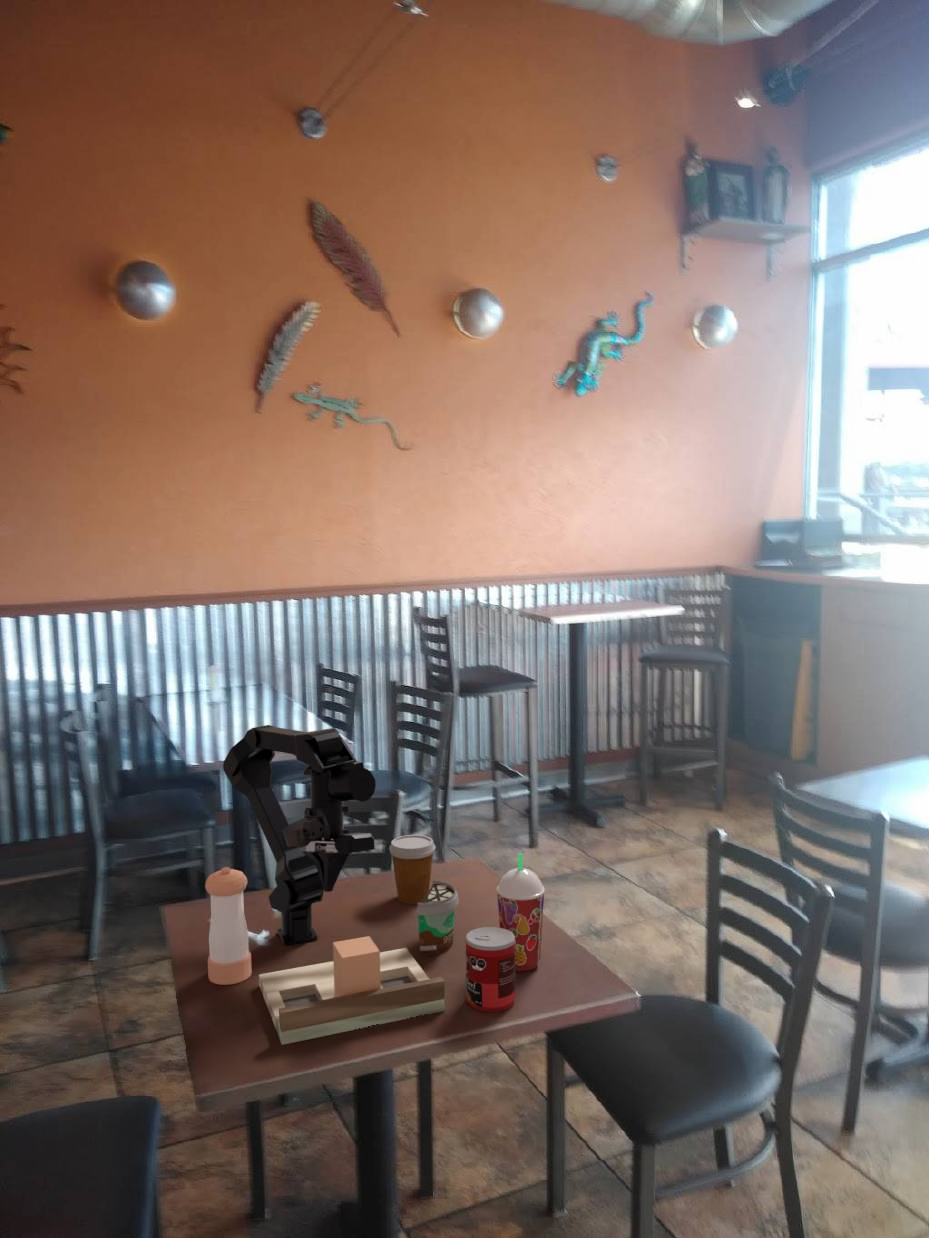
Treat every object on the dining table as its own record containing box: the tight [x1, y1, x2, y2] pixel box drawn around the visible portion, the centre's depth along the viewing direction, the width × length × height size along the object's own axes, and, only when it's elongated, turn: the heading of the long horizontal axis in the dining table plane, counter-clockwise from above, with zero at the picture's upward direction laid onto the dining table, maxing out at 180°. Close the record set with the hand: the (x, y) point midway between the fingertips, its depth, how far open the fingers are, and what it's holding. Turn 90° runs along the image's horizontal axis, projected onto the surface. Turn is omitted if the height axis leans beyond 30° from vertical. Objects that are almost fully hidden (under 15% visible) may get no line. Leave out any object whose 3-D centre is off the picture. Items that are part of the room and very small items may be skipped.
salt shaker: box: [204, 866, 252, 986], centre depth 167 cm, size 7×7×19 cm
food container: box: [416, 879, 460, 956], centre depth 179 cm, size 12×6×10 cm, turn 168°
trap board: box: [258, 947, 446, 1046], centre depth 159 cm, size 20×26×5 cm
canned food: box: [465, 926, 516, 1013], centre depth 157 cm, size 8×8×11 cm
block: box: [332, 935, 381, 997], centre depth 154 cm, size 6×6×9 cm
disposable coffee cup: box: [388, 834, 436, 905], centre depth 201 cm, size 10×10×12 cm
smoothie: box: [496, 852, 546, 972], centre depth 170 cm, size 8×8×20 cm
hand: (328, 891), depth 171 cm, fingers closed
